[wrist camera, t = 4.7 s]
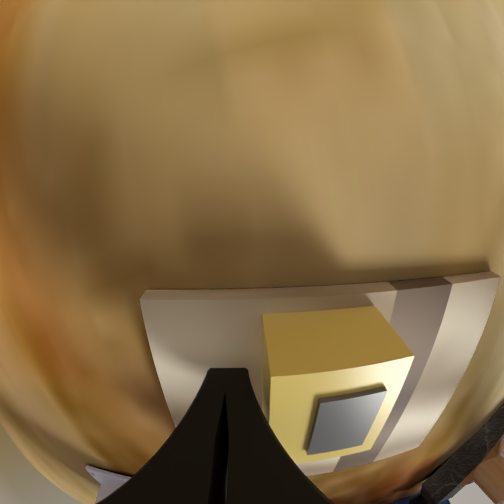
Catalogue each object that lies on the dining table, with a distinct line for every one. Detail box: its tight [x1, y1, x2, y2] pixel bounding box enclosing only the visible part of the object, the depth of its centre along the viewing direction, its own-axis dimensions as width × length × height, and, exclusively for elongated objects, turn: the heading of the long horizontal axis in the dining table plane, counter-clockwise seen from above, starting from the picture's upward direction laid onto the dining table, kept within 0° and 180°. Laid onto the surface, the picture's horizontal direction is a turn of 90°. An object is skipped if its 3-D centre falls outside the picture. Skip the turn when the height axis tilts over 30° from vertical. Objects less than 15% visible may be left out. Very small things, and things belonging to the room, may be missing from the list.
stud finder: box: [262, 305, 415, 464], centre depth 8 cm, size 5×4×3 cm
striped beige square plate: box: [139, 271, 501, 476], centre depth 11 cm, size 14×16×1 cm
